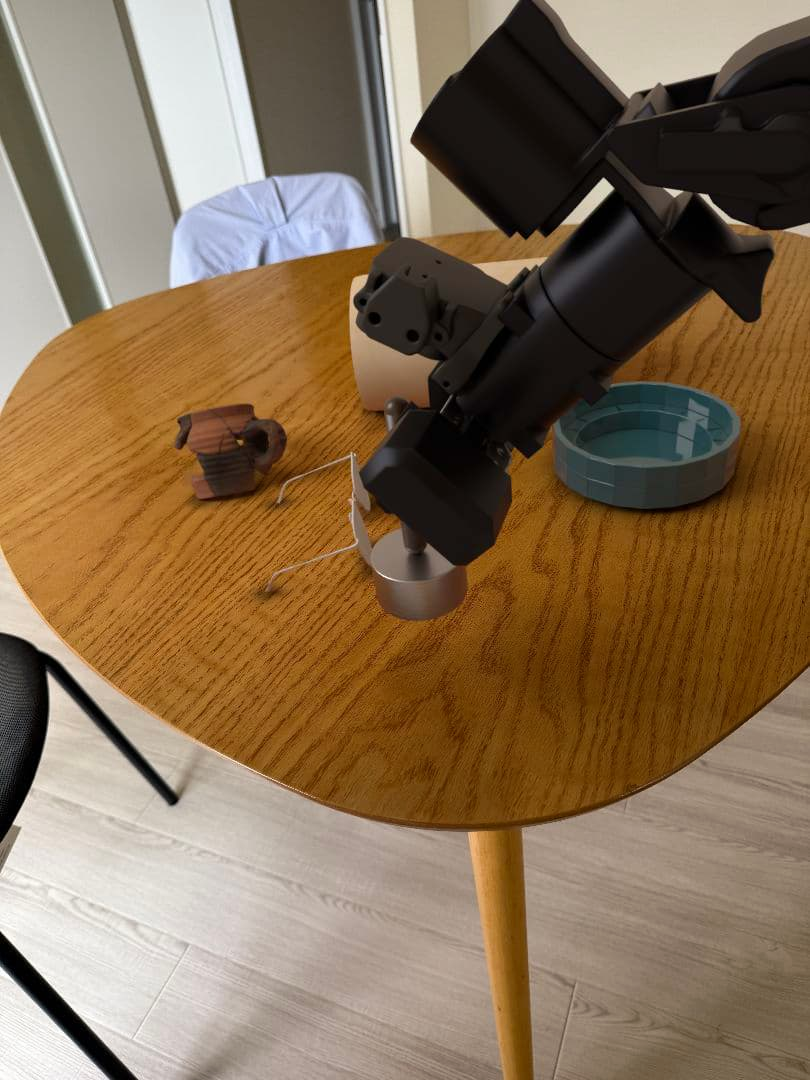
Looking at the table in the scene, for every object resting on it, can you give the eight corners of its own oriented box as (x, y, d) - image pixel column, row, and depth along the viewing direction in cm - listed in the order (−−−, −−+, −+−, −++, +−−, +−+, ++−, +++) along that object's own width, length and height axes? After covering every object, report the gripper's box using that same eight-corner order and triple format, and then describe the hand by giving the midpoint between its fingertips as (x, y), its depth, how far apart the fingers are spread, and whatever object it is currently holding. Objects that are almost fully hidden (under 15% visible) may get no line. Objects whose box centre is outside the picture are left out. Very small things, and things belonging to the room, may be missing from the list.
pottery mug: (167, 508, 73) (146, 421, 73) (226, 496, 82) (209, 419, 81) (273, 485, 68) (252, 392, 68) (325, 475, 77) (306, 392, 76)
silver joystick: (486, 595, 47) (471, 398, 39) (405, 634, 45) (373, 434, 37) (437, 551, 51) (414, 365, 43) (361, 585, 49) (324, 396, 41)
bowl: (772, 466, 66) (781, 419, 64) (645, 537, 61) (649, 489, 58) (637, 409, 77) (640, 367, 75) (518, 465, 71) (517, 421, 69)
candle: (358, 254, 82) (601, 230, 79) (376, 372, 91) (596, 355, 88) (341, 310, 72) (620, 285, 68) (364, 436, 80) (612, 420, 77)
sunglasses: (374, 582, 60) (354, 531, 57) (272, 609, 61) (246, 561, 58) (369, 487, 71) (352, 441, 68) (282, 511, 72) (262, 467, 69)
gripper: (504, 134, 40) (342, 337, 50) (373, 245, 26) (186, 495, 36) (654, 286, 42) (470, 452, 52) (607, 466, 28) (368, 644, 38)
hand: (387, 498), depth 44 cm, fingers closed on silver joystick
